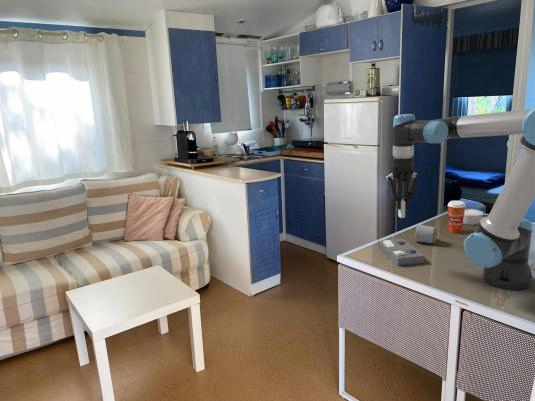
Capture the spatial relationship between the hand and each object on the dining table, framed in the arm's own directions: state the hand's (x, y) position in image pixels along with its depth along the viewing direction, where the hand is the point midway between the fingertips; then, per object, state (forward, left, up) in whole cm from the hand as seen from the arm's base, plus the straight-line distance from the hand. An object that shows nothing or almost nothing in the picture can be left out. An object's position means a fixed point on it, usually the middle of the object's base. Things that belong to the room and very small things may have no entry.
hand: (401, 216), depth 160 cm
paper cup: (+26, -39, -19) cm, 50 cm away
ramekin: (+36, -53, -19) cm, 67 cm away
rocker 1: (+12, 0, -16) cm, 20 cm away
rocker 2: (+2, 0, -16) cm, 16 cm away
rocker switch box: (+7, -3, -19) cm, 20 cm away
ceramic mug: (+18, -20, -19) cm, 33 cm away
